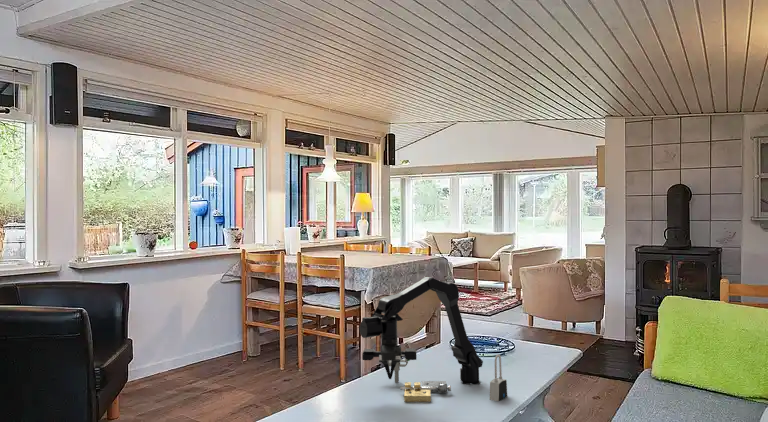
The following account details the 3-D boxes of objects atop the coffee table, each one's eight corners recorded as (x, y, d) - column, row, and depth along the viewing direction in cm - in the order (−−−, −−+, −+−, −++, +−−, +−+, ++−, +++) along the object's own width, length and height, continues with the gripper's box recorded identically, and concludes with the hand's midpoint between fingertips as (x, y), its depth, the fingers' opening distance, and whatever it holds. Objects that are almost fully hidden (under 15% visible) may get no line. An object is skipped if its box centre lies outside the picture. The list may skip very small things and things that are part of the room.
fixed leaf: (449, 386, 214) (449, 376, 214) (451, 395, 204) (450, 385, 204) (401, 386, 215) (401, 377, 215) (400, 395, 205) (400, 385, 205)
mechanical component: (409, 383, 219) (408, 357, 219) (382, 382, 221) (382, 356, 221) (410, 381, 222) (410, 355, 222) (384, 380, 224) (383, 354, 224)
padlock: (499, 401, 196) (498, 357, 196) (488, 399, 199) (487, 355, 199) (508, 396, 201) (507, 353, 201) (497, 394, 204) (496, 351, 204)
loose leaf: (430, 392, 207) (429, 382, 207) (430, 401, 197) (430, 391, 197) (405, 392, 208) (404, 382, 208) (404, 401, 198) (404, 391, 198)
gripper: (360, 339, 195) (361, 386, 195) (415, 339, 194) (416, 385, 194) (363, 332, 206) (364, 376, 206) (415, 332, 205) (417, 376, 205)
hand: (390, 378), depth 202 cm, fingers closed
